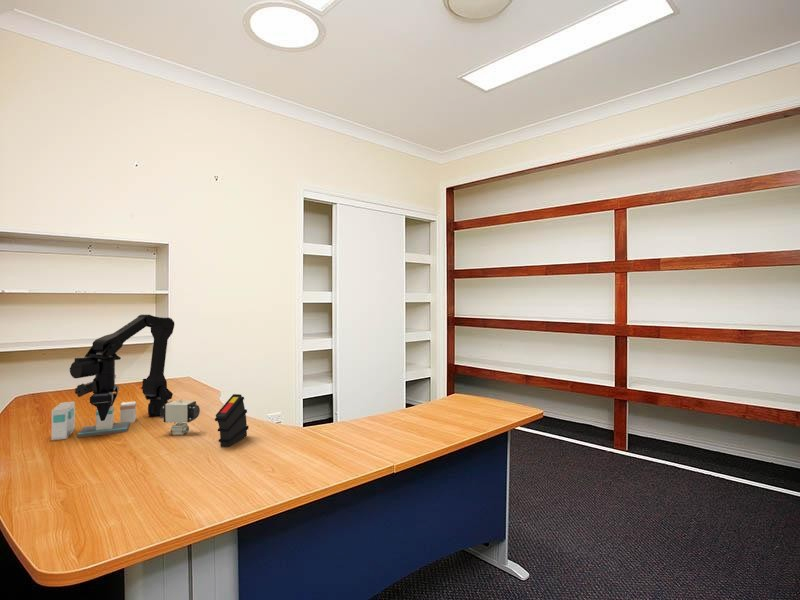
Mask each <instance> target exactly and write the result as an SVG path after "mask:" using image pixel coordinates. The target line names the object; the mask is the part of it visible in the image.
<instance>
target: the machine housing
mask: <svg viewBox="0 0 800 600" xmlns="http://www.w3.org/2000/svg"><path fill="white" fill-rule="evenodd" d="M75 408H76V401H65V402H60V403H59V404H57V405H56V406H55V407H53V409H51V441H58V440H59V441H60V440H67V439H68V438H69V436H71V434H72V433H73V432H74V431H75V427H76V426H75V425H76V409H75Z"/></svg>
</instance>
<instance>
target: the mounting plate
mask: <svg viewBox="0 0 800 600" xmlns="http://www.w3.org/2000/svg"><path fill="white" fill-rule="evenodd" d="M130 424H131V423H130V422H123V423H120V422H117V423H114V425H113V427H112V429H104V430H96V424H95V425H89V426H83V427H82V429H81V430H80V431H78V433H77V438H84V437H92V436H103V435H109V434H110V435H111V434H120V433H126V432H127V431H128V430H129V427H130Z"/></svg>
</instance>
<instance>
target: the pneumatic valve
mask: <svg viewBox="0 0 800 600" xmlns="http://www.w3.org/2000/svg"><path fill="white" fill-rule="evenodd" d="M200 410H201V409H200V405H198V404H197V401H196V400H195V401H193V400H191V401H190V400H182V398H179V399H178V400H170V401H168V403H166V404H164V405H163V406H162V408H161V410H160V416H159V417H161V418H162V420H163V423H173V425H172V426H170V427H171V428H170V432H171V434H172V435H173V436H183V435H185V434H187V433H189V430H190V426H189V425H188V424H189V423H191V422H193V421H195V420H196V419H198V417H199V416H200V413H201V412H200Z"/></svg>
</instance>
